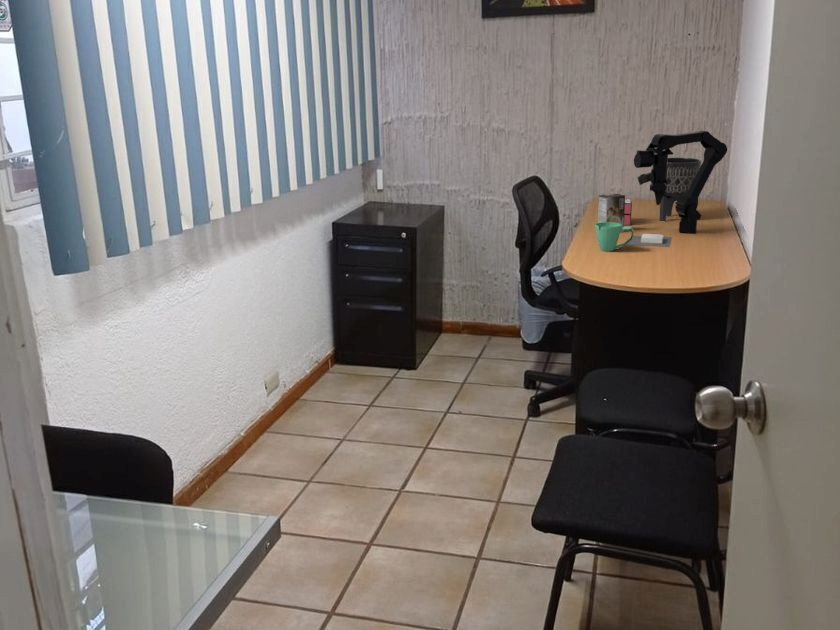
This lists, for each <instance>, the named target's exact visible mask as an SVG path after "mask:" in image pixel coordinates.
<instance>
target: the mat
mask: <svg viewBox="0 0 840 630" xmlns="http://www.w3.org/2000/svg"><path fill="white" fill-rule="evenodd" d="M641 237H642V235H633V239H632V240H631V241H630V242H629V243H627V244H626V246H638V247H639V246H641V247H659V248H660V247H661V248H670V245H671V241H672V238H673V237H671V236H663V242H662V244H654V243H641Z"/></svg>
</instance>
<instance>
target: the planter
mask: <svg viewBox="0 0 840 630" xmlns="http://www.w3.org/2000/svg"><path fill="white" fill-rule="evenodd" d="M702 163H703V161H702V159H698V158H692V157H668V165H667V168H668V169H667V179H668V185H667V186H666V187H667V188H666V191H665V193H664V196H663V198H662V200H661V202H660V205H659V222H660V221H665V222H666V220H667V217H672V213H673V207H674V204H675V203H676V202H677V201H678V198H679V196H680V195H685V194H686V193H687V192H688V190H689V188H690V186H691V184H692V182H693V180H694V178H695V177H696V175H697V173H698V171H699V169H700V167H701V165H702Z"/></svg>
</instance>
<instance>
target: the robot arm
mask: <svg viewBox="0 0 840 630" xmlns="http://www.w3.org/2000/svg"><path fill="white" fill-rule="evenodd" d="M692 143H693V144H694V143H700V144H701V146H702V148H704V152H703V161H702V162H701V167H700V169H699V171H698V173H697V175H696V177H695V178H694V180H693V182H692V184H691V186H690V188H689V190H688V192H687V193H686V194H685V195H680V196H679V198H678V201H675V209H674V210H675V211H676V213H677V214H678V218H680V220H679V224H678V226H679V227H678V232H679V234H687V235H689V234H690V235H697V232H698V231H697V228H698V221H701V217H702V214H701V213H700V212H699V211H698V206H699V198H700V197H699V196H700V195H701V193H702V191H703V189H704V187H705V185H706V184H707V181H708V179H709V178H710V176H711V174H712V171H713V170H714V168H715V166H716V165H717V164H719V162H720V161H722V160H723V158H724V157H725V156H726V154H727V152H728V146H727V144H726V143H725V142H721V141H720V140H719V139H718V138H716V137H715V136H713V135H712V134H711V133H710V132H709V131H708V130H699V131H693V132H685V133H679V134H664V133H657V134H654V135H653V136H652V139H651V142H650V143H649V144H648V146H647V147H646V149H644V150H640V149H639V150H638V149H637V150H636V153H635V156H634V157H633V165H634V167H635V168H636V169H642V168H643V169H644V168H651V167H652V169H651V172H647V173H642V174H640V175H638V176H637V182H638V184H639V186H641V185H644V184H646V183H650V184H649V185H650V186H649V191H651V192H653V193H654V197H655V205H656V206H660V202H661V200H662V198H663V196H664V193H665V191H666V188H667V187H666V186H667V185H668V179H667V169H668V168H667V165H668V158H669V156H671V155H674V152H673V151H672V150H671V149H673V148H674V147H676V146H678V145H686V144H692Z"/></svg>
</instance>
